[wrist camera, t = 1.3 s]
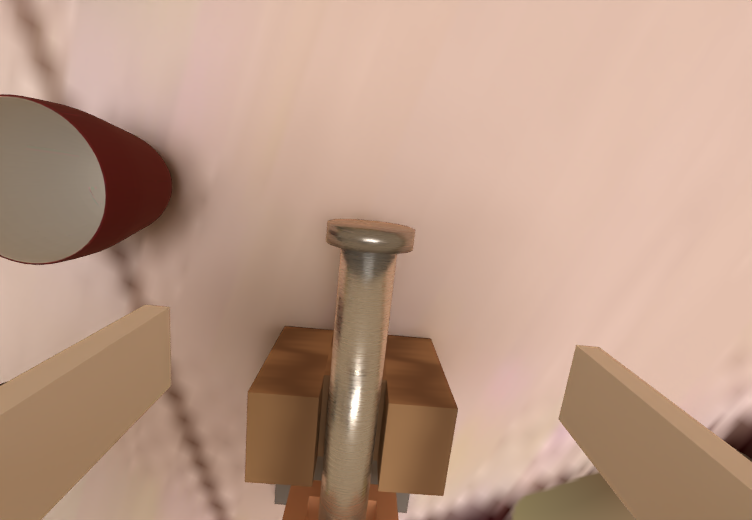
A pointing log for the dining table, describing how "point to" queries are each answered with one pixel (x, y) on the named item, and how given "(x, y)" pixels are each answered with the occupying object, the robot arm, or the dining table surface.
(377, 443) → the cradle block
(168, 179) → the mug
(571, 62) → the dining table surface
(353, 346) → the shaft
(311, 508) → the frame
